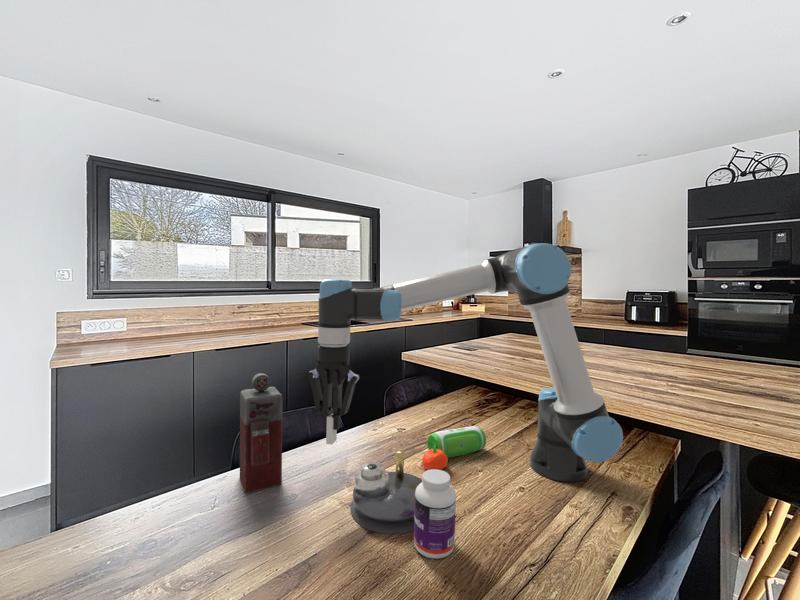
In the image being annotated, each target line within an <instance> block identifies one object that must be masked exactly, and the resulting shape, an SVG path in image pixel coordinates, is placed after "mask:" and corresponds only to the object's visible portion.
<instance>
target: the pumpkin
mask: <svg viewBox="0 0 800 600" xmlns="http://www.w3.org/2000/svg"><path fill="white" fill-rule="evenodd" d="M421 460H422V461H421V466H423V469H425V470H426V471H427V470H432V469H436V470H442V471H443V470H444V468H446V467H447V466H448V462H449V457H447V456H446V454H445V453H444V452H443V451H442V450H439V449H436V447H435V446H434V447H433V449H431V450H427V451H426V452H425V453H424V454H423V456H422V459H421Z"/></svg>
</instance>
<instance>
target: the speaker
mask: <svg viewBox="0 0 800 600" xmlns="http://www.w3.org/2000/svg"><path fill="white" fill-rule="evenodd" d="M426 441H427V442H426V443H427V445H426V446H427V449H428V450H427V451H429V450H431V449H433V447H434V446H435V447H436V449H439V450H442V451H443V452H444V453H445V454H446V456H447V458H452V457H453V458H454V457H457V456H464V455H468V453H469V454H473V453H474V452H477V451H481V450H483V449H484V448H485V447H486V444H487V436H486V434H485V431H484V430H483V428H482V427H480V426H475V425H473V426H466V427H465V426H464V427H460V428H453V429H452V428H450V429H445V430H441V431H440V430H439V431H435V432H433V433H432V434H429V436H428V437H427V440H426ZM463 454H464V455H463Z"/></svg>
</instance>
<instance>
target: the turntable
mask: <svg viewBox="0 0 800 600" xmlns="http://www.w3.org/2000/svg"><path fill="white" fill-rule="evenodd" d="M395 455H396V456H395V471H387V472H388V474H389V488H388V491H387V492H386V493H385V494H383V495H381V496H378V497H364V496H361V495H359V494H358V493H356V491H355V489H354V488H353V490H352V501H353V505H354V507H355V509H356V511H357V512H358V513H359V514H361V515H362V516H364V517H365V518H367V519H369V520H372V521H375V522H379V523H386V524H399V523H405V522H410V521H413V520H414V519H415V518H414V517H415V491H416V488H417V486H418V485H419V484H420V483H422V478H420V477H418V476H417V475H413V474H411V473H407V472H405V451H404V450H403V449H397V450H396V454H395Z"/></svg>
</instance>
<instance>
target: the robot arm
mask: <svg viewBox="0 0 800 600" xmlns="http://www.w3.org/2000/svg"><path fill="white" fill-rule="evenodd" d="M567 255H568V254H566V253H565V251H564V250H563V249H562V248H560V247H558V246H556V245H554V244H551V243H547V242H544V243H543V242H542V243H540V242H539V243H537V242H536V243H531V244H529V245H527V246H526V245H525V246H522V247H518V248H514V249H512V250H510V251H506V252H505V253H503V254H500V255H497V256H493V257H492V258H491V257H490V258H487V259H484V260H483V261H482V262H481V263H480V264H476V265H473V266H468V267H464V268H459V269H455V270H451V271H446V272H442V273H437V274H433V275H428V276H425V277H421V278H416V279H411V280H407V281H403V282H398V283H395V284H390V285H386V286H385V285H384V286H382V287H374V288H355V287H353V284H352V283H353V282H352V281H351V280H350V279H328V278H327V279H323V280H322V281H321V282H320V283H319V293H318V294H319V296H318V330H317V332H318V334H317V343H318V346H317V363H316V366H315V368H314V369H312V370H310V371H308V372H307V373H306V377H307V378H308V380H309V382H310V387H311V391H312V393H311V394H312V397H313V403H314V407H315V411H316V413H320V414H322V417H323V425H322V426H323V429H326V432H325V433H326V439H325V440H326V441H325V444H326V445H333V444H334V443H335V442H337V437H338V435H337V434H338V433H337V431H338V430H339V429H340V428H341V419H342V418H341V416H344V415H345V414H347V413H348V412H349V410H350V405H351V402H352V399H353V395H354V392H355V388H356V384H357V383H358V381H359V380H360V378H361V375H360V374H357V373H355V372H353V371H352V367H351V365H350V357H351V355H350V353H351V349H350V348H351V346H350V345H349V343H351V321H377V322H378V321H380V322H385V323H387V322H397V321H400V320H401V316H402V311H406V310H411V309H414V308H419V307H425V306H428V305H433V304H436V303H437V304H438V303H442V302H446V301H450V300H453V299H454V300H455V299H459V298H463V297H467V296H468V297H469V296H473V295H476V294H480V293H485V292H488V293H490V294H491V295H492V294H497V293H503V292H516V293H517V297H518V300H519V303H520V306H521V307H523V308H525V309H527V310H528V311H529V313H530V316H531V319H532V323H533V325H534V329H535V332H536V334H537V338H538V341H539V344H540V348H541V350H542V355H543V357H544V361H545V363H546V367H547V370H548V374H549V376H550V379H551V382H552V383H551V384H552V386H553V387H545V388H542V389H540V391H539V394H538V400H537V401H538V404H537V405H538V406H537V407H538V409H537V411H538V412H537V438H536V441H535V443H534V445H533V448H532V451H531V453H530V457H529V465H530V468H531V469H532V470H533V471H534V472H536V473H537V474H539V475H540V476H543V477H545V478H548V479H550V480H553V481H554V480H555V481H558V482H564V483H575V482H581V481H583V480H585V479H587V477H588V463H587V461H588V462H591V463H601V462H605V461H609V460H610V459H611V458H613V457H614V456H615V455H616V454H617V453H618V451H619V449H620V448H621V446H622V445H623V442H624V441H623V440H624V434H623V433H624V432H623V429H622V426H620V424H619V423H618V422H617V421H616V420H615V418H613V417H611V416H610V415H609V413H608V409H607V406H606V403H605V400H604V398H603V397H604V396H602V395H600V394H598V393H597V392H595V391H594V386H593V385H592V381H591V378H590V375H589V372H588V368H587V366H586V362H585V358H584V355H583V352H582V349H581V346H580V343H579V340H578V336H577V333H576V330H575V325H574V324H573V320H572V316H571V313H570V311H569V306H568V304H567V298H568V297H569V295H570V294H571V289H570V287H569V284H568V283H569V279H570V277H571V275H572V264H571V261H570V258H569V257H568V256H567ZM346 378H347V385H346V388H345V392H344V396H343V385H344V381H345V380H346ZM320 379H321V380H322V384H321V381H320ZM321 385H322V386H321ZM322 388H323V389H322Z"/></svg>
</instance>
